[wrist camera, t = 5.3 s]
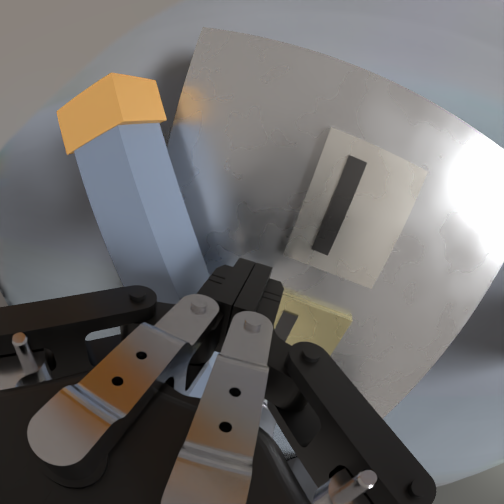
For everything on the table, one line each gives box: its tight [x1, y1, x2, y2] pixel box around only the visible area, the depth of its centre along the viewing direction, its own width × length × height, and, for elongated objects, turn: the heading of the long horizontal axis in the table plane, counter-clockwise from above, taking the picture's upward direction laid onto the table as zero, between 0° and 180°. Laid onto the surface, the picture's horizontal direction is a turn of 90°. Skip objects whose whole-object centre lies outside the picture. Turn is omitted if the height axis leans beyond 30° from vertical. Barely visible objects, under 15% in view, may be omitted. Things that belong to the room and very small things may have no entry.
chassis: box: [167, 27, 504, 423], centre depth 17 cm, size 22×18×6 cm
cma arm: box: [57, 73, 276, 438], centre depth 14 cm, size 22×4×3 cm, turn 16°
